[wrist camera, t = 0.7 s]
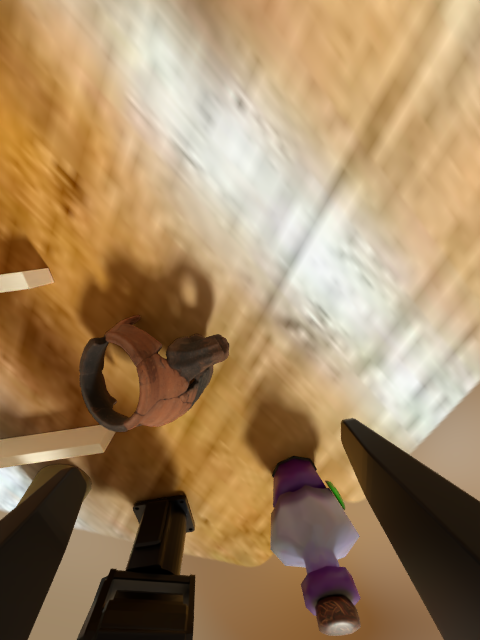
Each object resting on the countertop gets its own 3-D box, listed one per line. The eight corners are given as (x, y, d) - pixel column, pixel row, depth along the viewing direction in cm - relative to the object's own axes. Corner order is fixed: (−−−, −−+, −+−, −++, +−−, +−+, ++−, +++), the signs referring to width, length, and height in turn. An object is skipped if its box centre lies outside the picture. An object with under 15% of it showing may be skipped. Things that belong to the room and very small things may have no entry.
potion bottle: (342, 465, 28) (422, 618, 17) (295, 504, 30) (338, 665, 19) (292, 435, 26) (345, 587, 14) (245, 479, 28) (259, 644, 16)
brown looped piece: (171, 412, 24) (97, 461, 17) (138, 334, 25) (54, 347, 18) (265, 372, 20) (221, 415, 12) (219, 279, 21) (154, 266, 13)
